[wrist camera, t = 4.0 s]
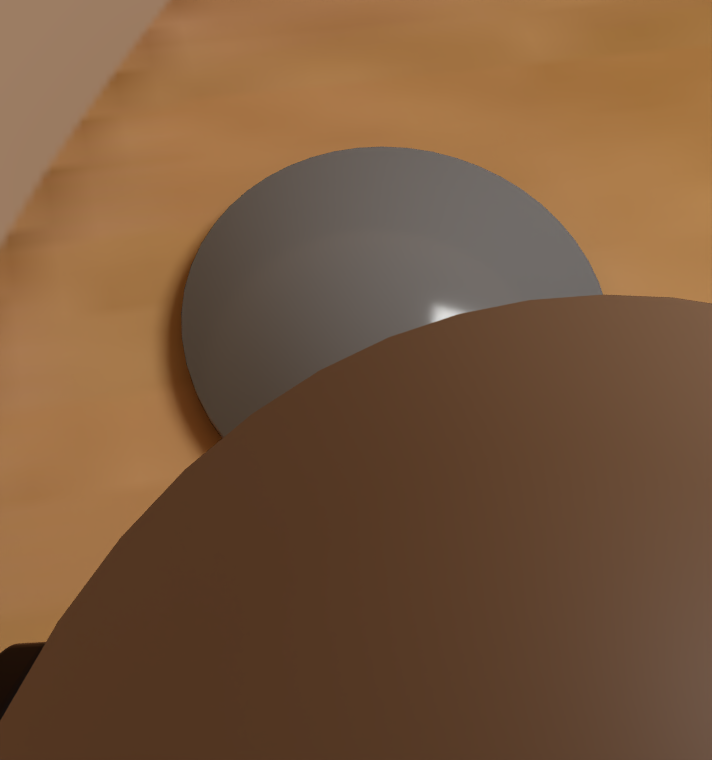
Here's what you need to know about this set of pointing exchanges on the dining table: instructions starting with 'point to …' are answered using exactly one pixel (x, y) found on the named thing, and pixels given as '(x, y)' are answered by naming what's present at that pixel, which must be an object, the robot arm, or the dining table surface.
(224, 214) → the coaster
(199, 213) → the dining table surface
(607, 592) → the pepper mill
